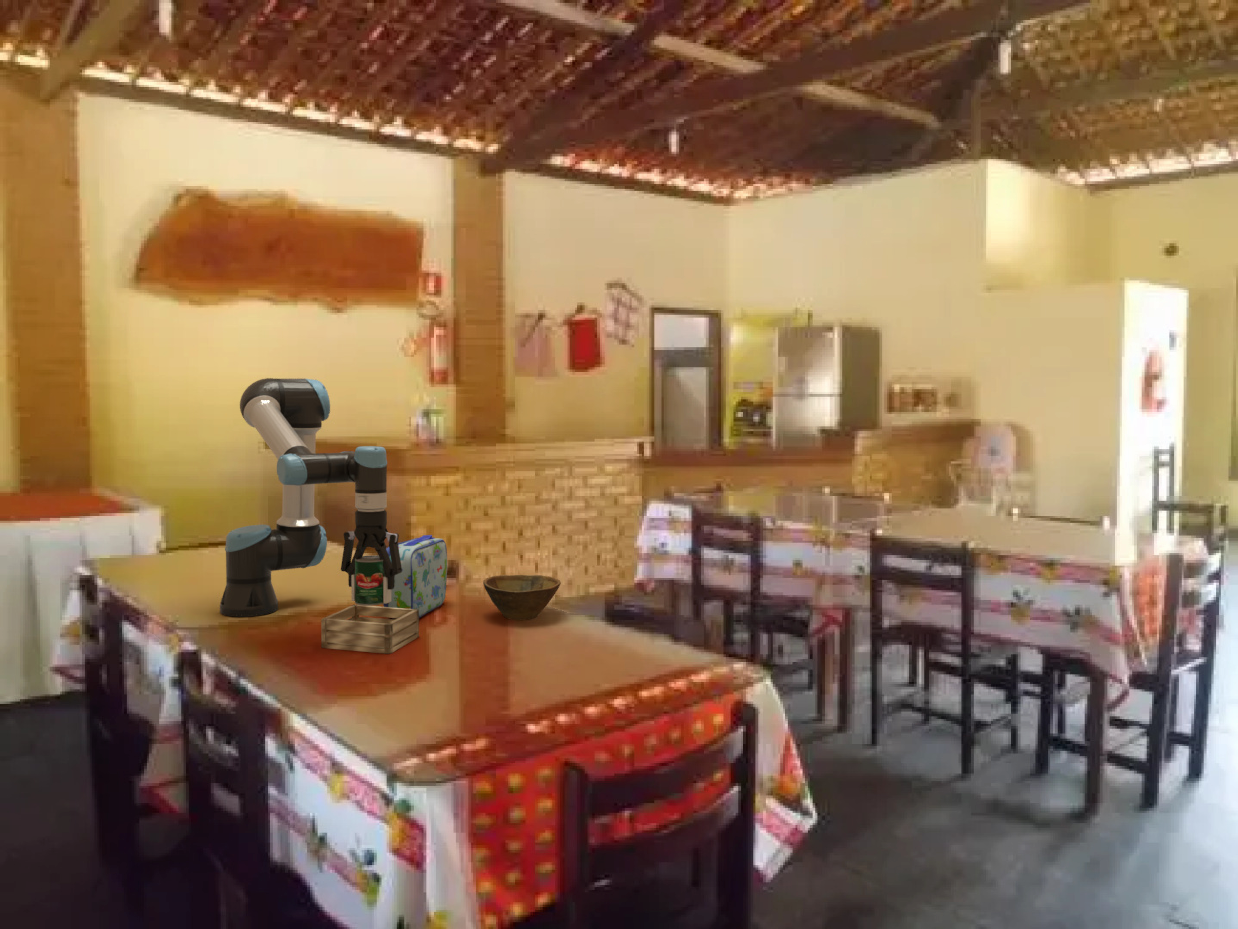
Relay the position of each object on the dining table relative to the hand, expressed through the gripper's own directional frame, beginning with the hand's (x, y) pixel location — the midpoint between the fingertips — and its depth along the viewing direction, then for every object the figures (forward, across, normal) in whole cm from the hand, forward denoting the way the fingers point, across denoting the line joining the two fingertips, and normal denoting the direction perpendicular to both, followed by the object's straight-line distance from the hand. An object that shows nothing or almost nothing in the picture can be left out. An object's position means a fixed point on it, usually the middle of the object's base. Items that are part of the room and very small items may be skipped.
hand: (371, 601), depth 234 cm
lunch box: (+11, -3, +32) cm, 34 cm away
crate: (+10, 0, 0) cm, 10 cm away
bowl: (+11, +27, +36) cm, 46 cm away
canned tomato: (+1, 0, 0) cm, 1 cm away
